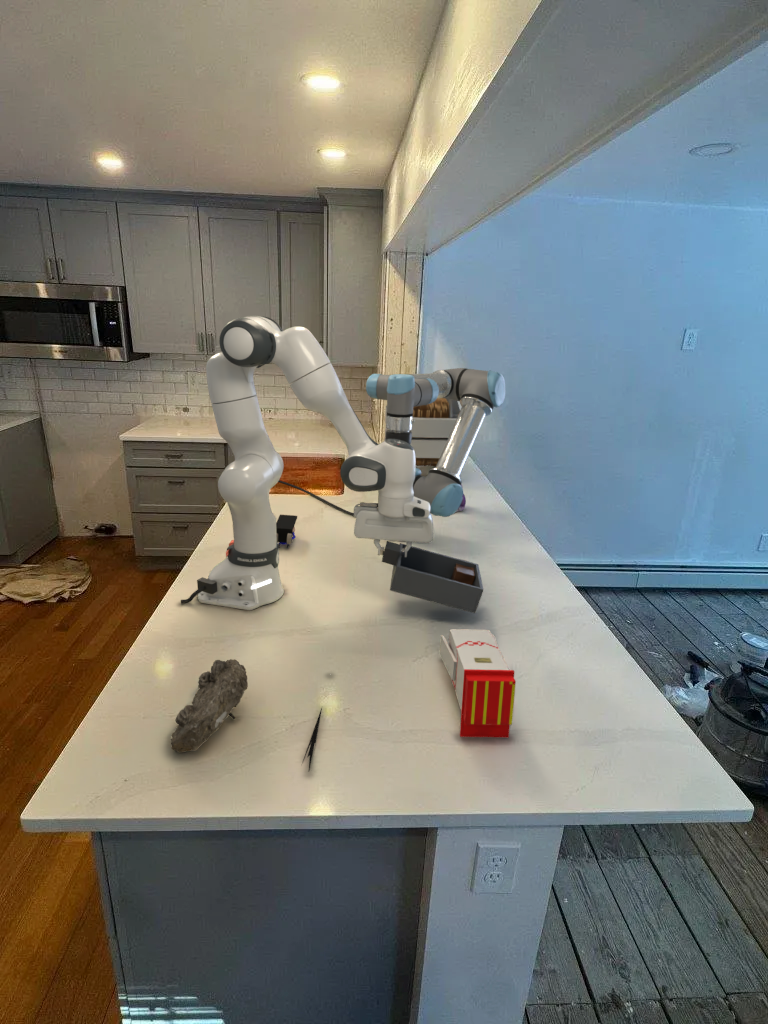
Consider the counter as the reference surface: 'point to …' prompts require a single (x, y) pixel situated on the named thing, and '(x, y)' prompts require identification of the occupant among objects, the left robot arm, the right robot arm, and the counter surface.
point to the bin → (432, 577)
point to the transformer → (432, 429)
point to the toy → (479, 682)
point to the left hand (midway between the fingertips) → (392, 555)
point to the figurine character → (285, 529)
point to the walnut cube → (463, 574)
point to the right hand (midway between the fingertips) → (395, 506)
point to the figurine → (462, 502)
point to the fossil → (210, 704)
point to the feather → (313, 740)
